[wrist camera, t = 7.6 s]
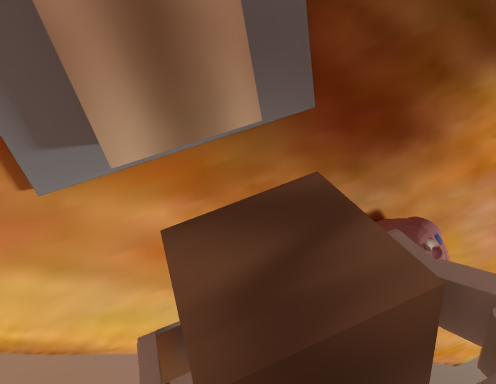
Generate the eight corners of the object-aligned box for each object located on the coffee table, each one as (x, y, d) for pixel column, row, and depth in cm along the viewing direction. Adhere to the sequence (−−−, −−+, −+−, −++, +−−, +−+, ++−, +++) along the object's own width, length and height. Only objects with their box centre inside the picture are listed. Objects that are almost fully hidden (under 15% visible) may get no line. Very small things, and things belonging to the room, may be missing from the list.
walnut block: (317, 171, 11) (445, 282, 7) (329, 280, 14) (425, 406, 9) (160, 231, 10) (196, 399, 6) (207, 334, 13) (254, 498, 9)
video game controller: (394, 256, 43) (457, 276, 38) (377, 285, 41) (440, 311, 36) (378, 199, 37) (450, 215, 32) (357, 230, 35) (429, 252, 30)
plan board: (279, -188, 18) (288, -198, 17) (307, 103, 27) (315, 107, 26) (-150, -123, 15) (-168, -130, 14) (41, 187, 24) (38, 196, 23)
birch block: (194, -127, 18) (213, -154, 14) (241, 102, 24) (262, 120, 21) (5, -93, 16) (-22, -114, 13) (111, 142, 23) (111, 168, 19)
